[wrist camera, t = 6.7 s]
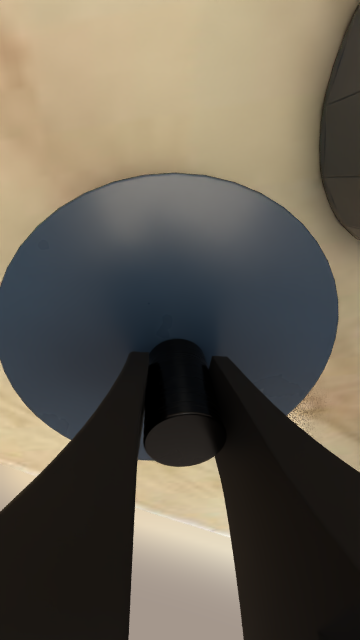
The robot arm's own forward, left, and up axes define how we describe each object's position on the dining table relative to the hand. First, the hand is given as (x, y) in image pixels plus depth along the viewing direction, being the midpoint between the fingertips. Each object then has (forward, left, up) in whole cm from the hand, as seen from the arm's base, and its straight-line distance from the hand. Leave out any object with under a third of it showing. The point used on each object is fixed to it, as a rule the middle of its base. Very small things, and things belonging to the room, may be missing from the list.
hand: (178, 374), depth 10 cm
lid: (0, 0, -1) cm, 1 cm away
